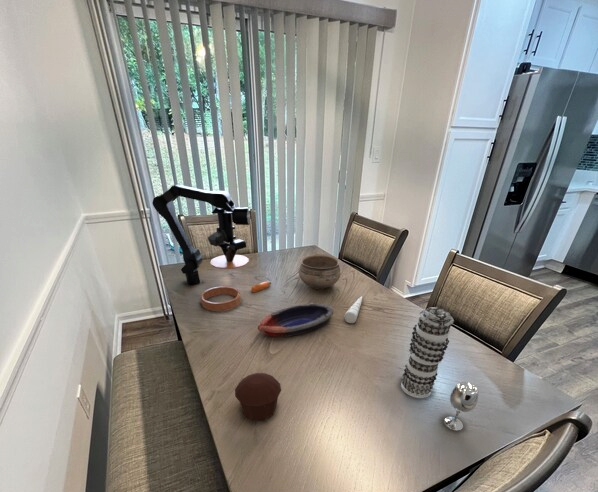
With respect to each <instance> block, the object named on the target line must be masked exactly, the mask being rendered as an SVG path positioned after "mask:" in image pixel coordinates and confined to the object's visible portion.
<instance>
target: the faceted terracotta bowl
mask: <svg viewBox="0 0 598 492" xmlns="http://www.w3.org/2000/svg"><path fill="white" fill-rule="evenodd" d="M219 295H229V296H232V297H233V296H234V298H233V299H231V300H227V301H223V302H222V301H221V302H215V301H209V300H208V299H209V298H211V297H215V296H219ZM241 301H242V295H241V292H240V290H239V289H237V288H235V287H233V286H227V285H226V286H225V285H223V286H222V285H221V286H215V287H210V288H208V289H205V290H204V291H203V292H201V295H200V302H201V306H202V307H203V309H206V311H207V310H208V311H212V312H224V311H225V312H226V311H229V310H232V309H235V308H236V307H238V306H239V305H240V304H241V303H242V302H241Z"/></svg>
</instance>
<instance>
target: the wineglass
mask: <svg viewBox="0 0 598 492" xmlns="http://www.w3.org/2000/svg"><path fill="white" fill-rule="evenodd" d="M478 400H479V389H478V387H477V386H476V385H474V384H473V383H470V382H467V381H459V382H458V383H457V384H456V385H455V386H454V388H453V389H452V391H451V393H450V395H449V402H450V405H451V407H453V408H454V409H455V416H446V417H445V418H444V420H443V423H444V425H445V426H446V427H447V428H449V429H450V430H452V431H461V430H462V429H463V428H464V424H463V422H462V421H461V420H460V419H459V418H458V417H459V415H460V414H461V412H462V413H469V412H471V411H473V410H474V409H475V407H476V406H477V404H478Z"/></svg>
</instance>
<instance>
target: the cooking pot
mask: <svg viewBox="0 0 598 492" xmlns="http://www.w3.org/2000/svg"><path fill="white" fill-rule="evenodd" d="M340 264H341V261H340V259H339V258H338V257H335V256H333V255H330V254H322V253H321V254H320V253H315V254H309V255H305V256H303V257H301V259H300V265H299V268H298V277H299V279H300V280H301V282H303V283H304V284H305V285H306V286H308V287H310V288H313V289H315V290H324V289H327V288H329V287H332V286H334V285H335V284H337V282H338V281H339V280H340V278H341V276H342V275H341V267H340Z"/></svg>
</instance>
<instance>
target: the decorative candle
mask: <svg viewBox="0 0 598 492" xmlns="http://www.w3.org/2000/svg"><path fill="white" fill-rule="evenodd" d="M418 316H419V317H418V322H417V324H415V325H414V326H413V328H412V330H413V331H412V332H411V334H412V336H411V339H410V341H411V342H410V343H409V349H408V354H409V355H408V357H409V358H408V359H407V362H406V364H404V365H405V366H404V367H405V368H404V369H403V371H404V373H402V378H401V383H400V384H401V385H400V388H401V390H402V391H403V392H404V393H405V394H407V396H410V397H412V398H416V399H425V398H428V397H429V396H431V393H432V390H433V389H434V386H435V381H436V380H437V376H438V369H439V364H441V363H442V361H443V359H444V356H445V354H446V350H447V349H448V348H449V347H448V345H449V343H450V340H449V335H450V332H451V327H452V325H453V324H454V323H455V320H454V318H453V316H452V315H451V314H450V312H449V311H447V310H446V309H444V308H442V307H436V306H433V307H428V308H426V309H425V310H422V311H420V312H419V313H418Z"/></svg>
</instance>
